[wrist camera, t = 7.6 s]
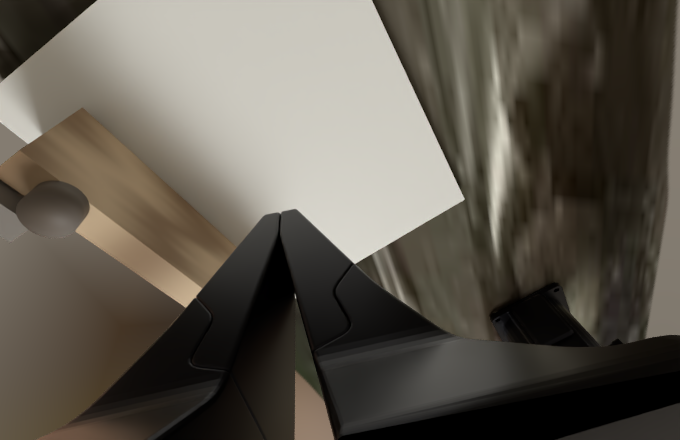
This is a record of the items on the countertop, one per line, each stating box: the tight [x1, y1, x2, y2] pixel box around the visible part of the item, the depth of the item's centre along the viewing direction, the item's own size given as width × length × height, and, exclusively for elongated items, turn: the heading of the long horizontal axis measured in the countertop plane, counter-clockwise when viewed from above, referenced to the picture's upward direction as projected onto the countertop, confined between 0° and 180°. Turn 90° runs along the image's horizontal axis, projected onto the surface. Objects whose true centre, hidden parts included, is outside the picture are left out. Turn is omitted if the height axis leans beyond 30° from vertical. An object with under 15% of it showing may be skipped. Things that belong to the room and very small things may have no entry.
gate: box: [0, 107, 237, 307], centre depth 18 cm, size 14×2×6 cm, turn 32°
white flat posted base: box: [0, 0, 465, 298], centre depth 17 cm, size 19×17×7 cm
